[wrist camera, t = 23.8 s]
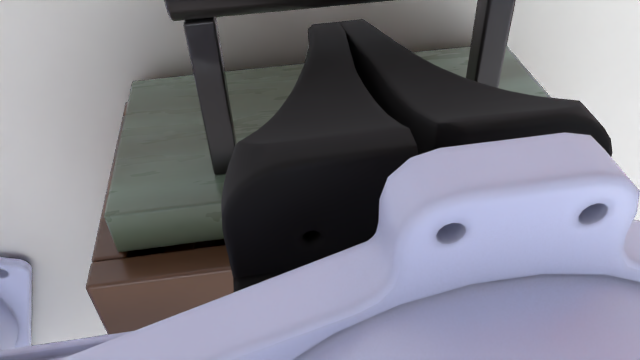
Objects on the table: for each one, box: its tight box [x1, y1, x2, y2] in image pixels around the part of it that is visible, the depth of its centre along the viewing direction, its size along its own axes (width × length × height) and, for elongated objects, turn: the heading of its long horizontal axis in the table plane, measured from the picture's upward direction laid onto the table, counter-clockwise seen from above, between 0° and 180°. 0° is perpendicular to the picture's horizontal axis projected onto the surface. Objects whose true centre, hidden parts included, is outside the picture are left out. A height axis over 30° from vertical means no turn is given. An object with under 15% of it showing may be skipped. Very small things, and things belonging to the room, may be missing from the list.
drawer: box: [104, 0, 551, 253], centre depth 18 cm, size 19×11×6 cm, turn 2°
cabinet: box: [86, 102, 234, 335], centre depth 20 cm, size 15×13×8 cm
